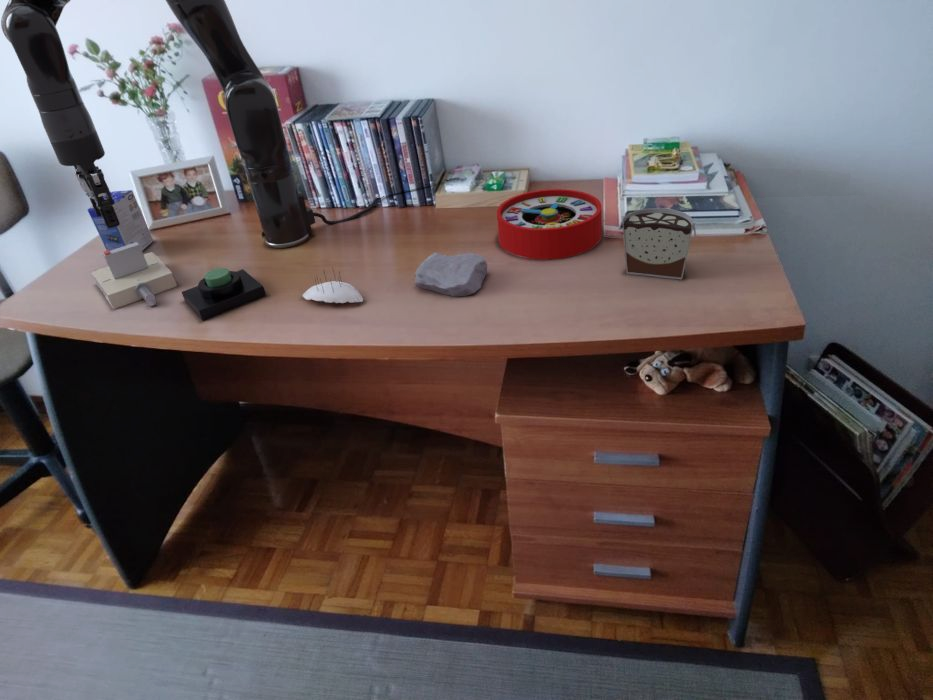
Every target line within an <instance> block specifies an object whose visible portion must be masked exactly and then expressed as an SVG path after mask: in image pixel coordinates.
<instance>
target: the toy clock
mask: <svg viewBox="0 0 933 700" xmlns="http://www.w3.org/2000/svg"><path fill="white" fill-rule="evenodd" d="M602 211H603V207H602V202H601V201H600V200H599V198H598V197H596V196H594V195H592V194H590V193H588V192H584V191H580V190H574V189H564V188H550V189H539V190H533V191H528V192H524V193H520V194H517V195H515V196H512V197H510V198H508V199H506V200H505V201H504V202H502V203H500V205H499V206H498V207H497V210H496V221H497V234H498V243H499V245H500V247H501V248H502V249H503V250H504V251H505V252H507V253H508V254H511V255H514V256H516V257H520V258H525V259H530V260H558V259H566V258H570V257H574V256H577V255H580V254H583V253H586V252H588V251H590V250H591V249H593V248H595V247H596V246H597V245H598V244H599V243H600V242H601V239H602V234H603V233H602V232H603V231H602V229H603V228H602V227H603V226H602V225H603V224H602V223H603V219H602V217H603V212H602Z"/></svg>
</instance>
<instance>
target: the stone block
mask: <svg viewBox="0 0 933 700" xmlns="http://www.w3.org/2000/svg"><path fill="white" fill-rule="evenodd" d="M487 273H488V263H487V260H486V259H485V257H484V256H483V255H479V254H477V253H472V252H471V253H459V254H457V255H449V254H447V255H446V254H443V253H440V252H433V253H432V254H430V255H429V256H428V257H426V258H425V259H424V260H423V261H422V262H421V263H420V264H419V266H418V267H417V269H416V271H415V273H414V281H415V283H414V284H415V285H416V286H417V287H419V288H421V289H424V290H428V291H433V292H436V293H437V294H438V293H439V294H442V295H447V296H451V297H456V298H457V297H464V296H465V297H466V296H470V295H473V294H475V293H477V292H478V290H480V289H481V288H482V285H483V282H484V281H485V278H486V276H487Z"/></svg>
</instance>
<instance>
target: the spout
mask: <svg viewBox="0 0 933 700" xmlns="http://www.w3.org/2000/svg"><path fill="white" fill-rule="evenodd" d="M151 291H152V289H151V287H150V285H149V284H147V283H144V282H142V283H139V284H137V285H136V287H135V292H136V294H137V295H138V296H139V297H143V300H144V301H145V302H146V303H147V305H148V307H153V306H156V304H157V301H156V295H155V294H153V293H152V292H151Z"/></svg>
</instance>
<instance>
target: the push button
mask: <svg viewBox="0 0 933 700" xmlns="http://www.w3.org/2000/svg"><path fill="white" fill-rule="evenodd" d="M229 271H230V269H228V268H226V267H217V268H214V269H211V270H209V271H207V272H206V273H205V274H204V276H203V278H205V280H206V283H207V286H208V287H216V286H221V285H224V284H227V283H228V282H230V281H231V280H232V278H231V275H230V272H229Z"/></svg>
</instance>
